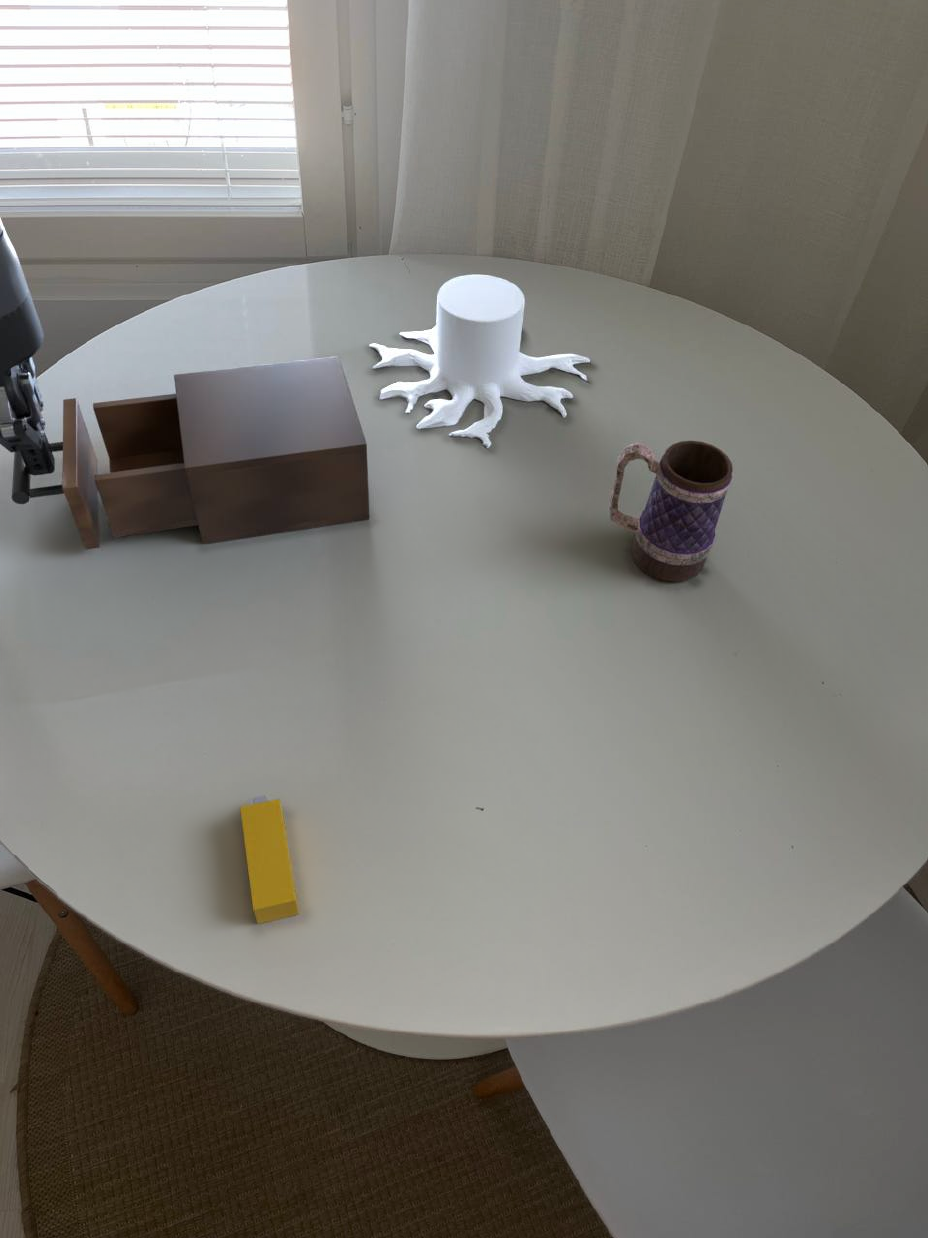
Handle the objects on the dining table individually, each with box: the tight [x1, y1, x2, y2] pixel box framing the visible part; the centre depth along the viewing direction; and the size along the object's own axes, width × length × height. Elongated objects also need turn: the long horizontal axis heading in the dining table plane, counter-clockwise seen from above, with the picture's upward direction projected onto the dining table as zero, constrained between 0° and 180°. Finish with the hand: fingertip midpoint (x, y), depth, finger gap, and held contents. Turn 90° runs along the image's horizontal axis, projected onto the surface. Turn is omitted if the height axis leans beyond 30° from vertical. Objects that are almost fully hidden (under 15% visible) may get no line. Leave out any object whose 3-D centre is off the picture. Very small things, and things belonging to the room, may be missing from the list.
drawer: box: [11, 393, 198, 551], centre depth 84 cm, size 20×12×7 cm, turn 105°
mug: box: [608, 440, 734, 582], centre depth 82 cm, size 10×7×12 cm
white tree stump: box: [369, 273, 591, 449], centre depth 100 cm, size 23×25×9 cm
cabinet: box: [173, 355, 371, 545], centre depth 86 cm, size 16×14×9 cm
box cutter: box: [239, 794, 300, 925], centre depth 64 cm, size 9×3×2 cm, turn 15°
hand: (43, 469), depth 81 cm, fingers closed
